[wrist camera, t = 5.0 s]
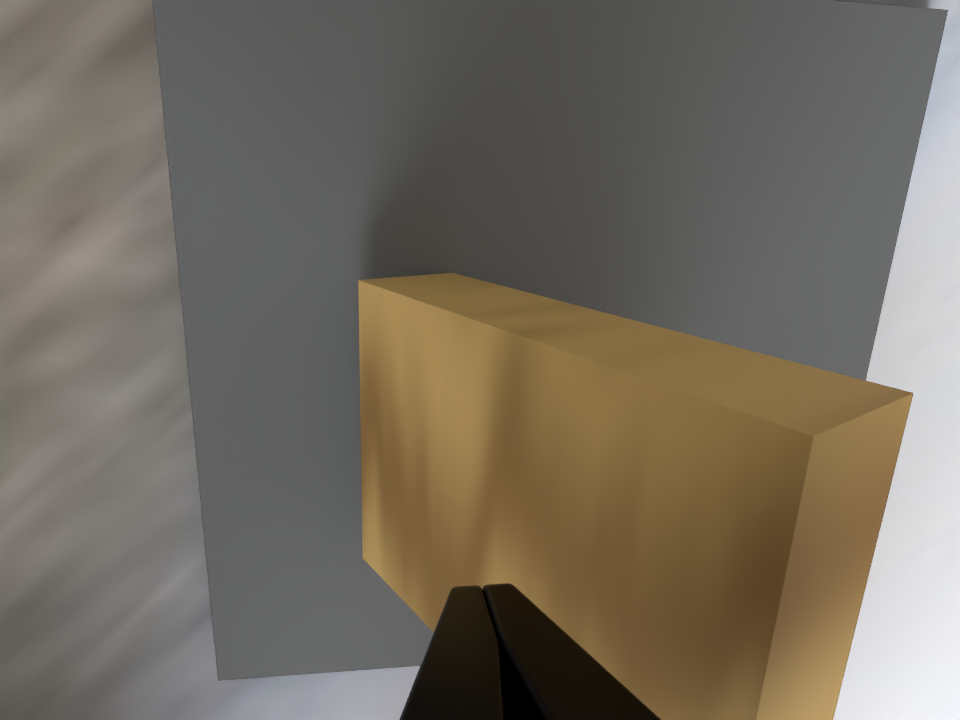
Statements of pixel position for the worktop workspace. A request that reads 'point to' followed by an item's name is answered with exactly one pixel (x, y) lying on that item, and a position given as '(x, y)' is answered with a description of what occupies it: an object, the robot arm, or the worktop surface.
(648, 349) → the ochre block
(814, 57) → the rubber mat
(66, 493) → the worktop surface
